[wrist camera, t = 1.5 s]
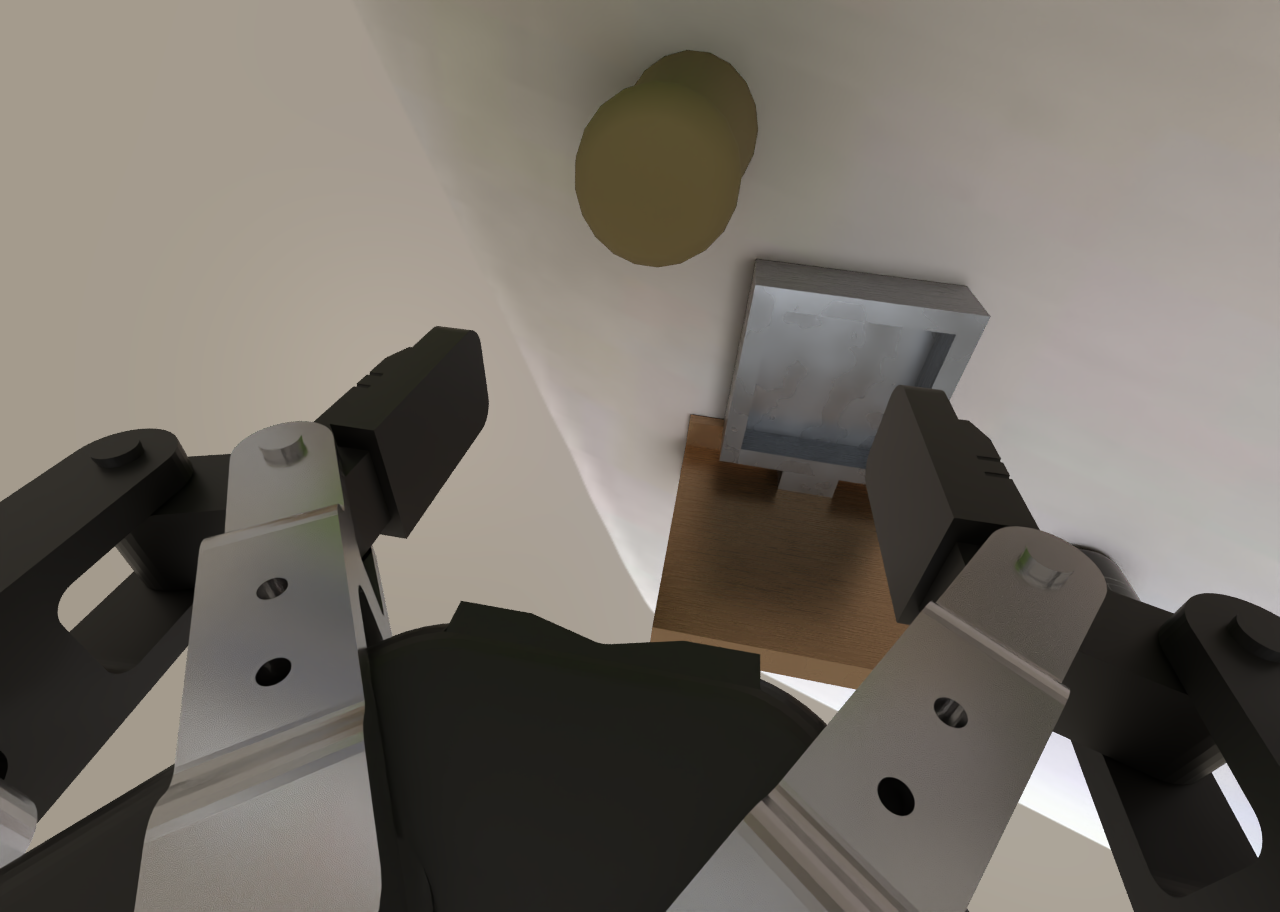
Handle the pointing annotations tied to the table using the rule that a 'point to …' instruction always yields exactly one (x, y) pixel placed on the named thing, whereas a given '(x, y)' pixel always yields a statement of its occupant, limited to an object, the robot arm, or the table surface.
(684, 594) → the bracket
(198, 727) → the robot arm
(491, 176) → the table surface
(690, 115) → the olive mushroom knob
